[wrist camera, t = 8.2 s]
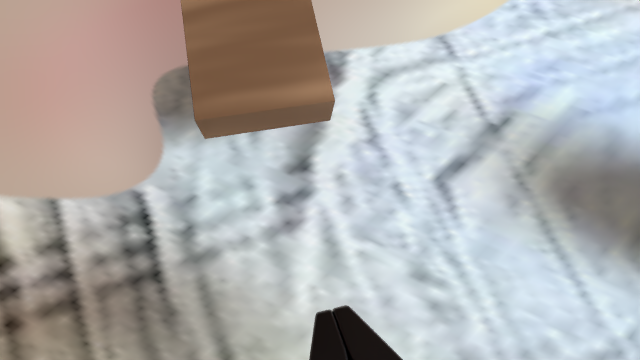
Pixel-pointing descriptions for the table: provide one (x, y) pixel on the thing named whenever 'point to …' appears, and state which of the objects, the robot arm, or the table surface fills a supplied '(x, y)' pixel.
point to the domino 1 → (255, 65)
